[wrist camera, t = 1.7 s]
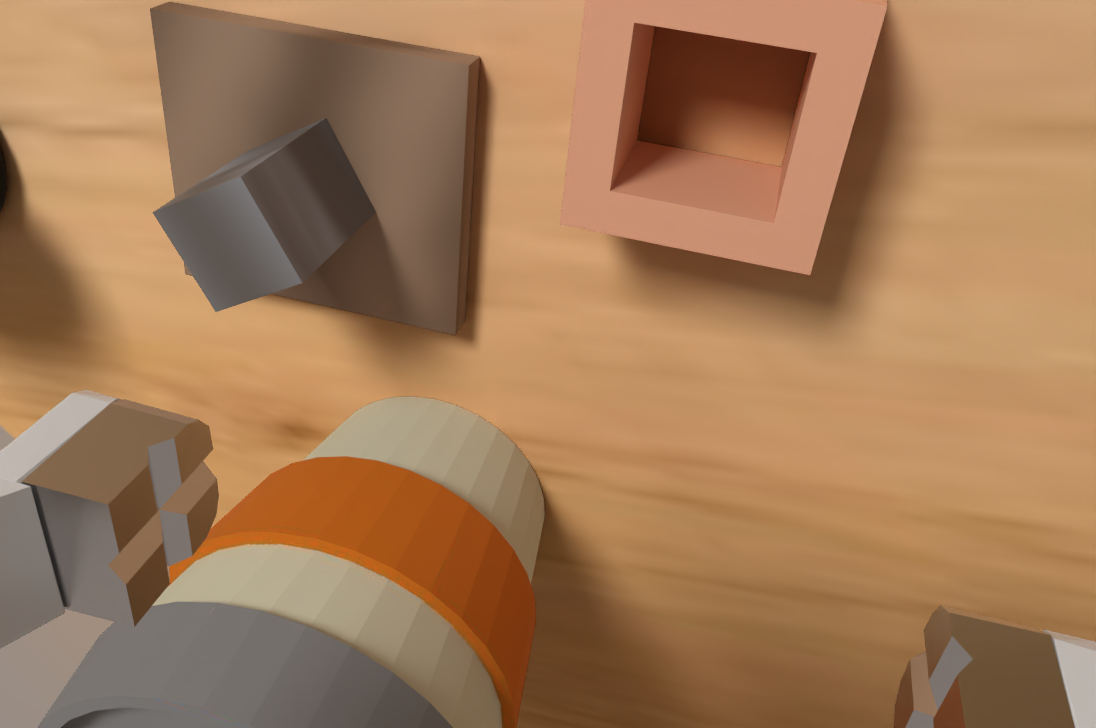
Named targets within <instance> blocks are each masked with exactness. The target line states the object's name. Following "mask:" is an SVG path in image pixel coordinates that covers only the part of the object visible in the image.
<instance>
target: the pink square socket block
mask: <svg viewBox="0 0 1096 728" xmlns="http://www.w3.org/2000/svg"><path fill="white" fill-rule="evenodd" d="M886 10H887V1H886V0H585V9H584V18H583V26H582V35H581V44H580V53H579V61H578V70H577V79H576V87H575V96H574V105H573V114H572V122H571V131H570V140H569V148H568V157H567V166H566V174H565V183H564V192H563V201H562V209H561V218H560V225H565V226H570V227H575V228H580V229H585V230H590V231H595V232H600V233H605V234H610V235H614V236H619V237H624V238H629V239H634V240H639V241H644V242H649V243H654V244H659V245H664V246H669V247H673V248H678V249H683V250H688V251H693V252H698V253H703V254H708V255H713V256H718V257H723V258H728V259H733V260H737V261H742V262H747V263H752V264H757V265H762V266H767V267H772V268H777V269H782V270H787V271H792V272H796V273H801V274H806V275H810V274H811V271H812V267H813V264H814V260H815V257H816V253H817V250H818V246H819V243H820V239H821V236H822V232H823V229H824V225H825V222H826V219H827V215H828V212H829V208H830V205H831V201H832V198H833V194H834V191H835V187H836V184H837V180H838V177H839V173H840V170H841V166H842V163H843V159H844V156H845V152H846V149H847V145H848V142H849V138H850V135H851V132H852V128H853V125H854V121H855V118H856V114H857V111H858V107H859V104H860V100H861V97H862V93H863V90H864V86H865V83H866V79H867V76H868V72H869V69H870V65H871V62H872V58H873V55H874V51H875V48H876V45H877V41H878V38H879V34H880V31H881V27H882V24H883V20H884V17H885V13H886ZM655 26H658V27H664V28H670V29H676V30H682V31H688V32H694V33H700V34H706V35H712V36H718V37H724V38H730V39H736V40H742V41H748V42H754V43H760V44H766V45H772V46H778V47H784V48H790V49H796V50H802V51H808V52H810V56H809V60H808V64H807V68H806V72H805V76H804V80H803V84H802V88H801V92H800V96H799V100H798V104H797V108H796V112H795V116H794V120H793V124H792V128H791V132H790V136H789V140H788V144H787V148H786V152H785V156H784V160H783V164H782V167H778V166H773V165H767V164H762V163H757V162H751V161H746V160H740V159H735V158H730V157H724V156H719V155H714V154H708V153H703V152H698V151H692V150H687V149H681V148H676V147H671V146H665V145H660V144H655V143H649V142H644V141H638V140H637V138H638V131H639V125H640V119H641V112H642V106H643V99H644V93H645V87H646V80H647V74H648V68H649V61H650V55H651V48H652V42H653V36H654V29H655Z"/></svg>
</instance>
